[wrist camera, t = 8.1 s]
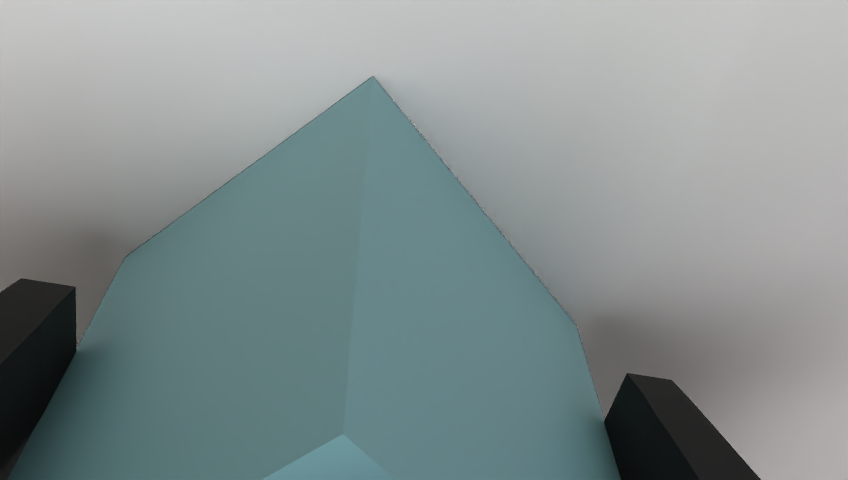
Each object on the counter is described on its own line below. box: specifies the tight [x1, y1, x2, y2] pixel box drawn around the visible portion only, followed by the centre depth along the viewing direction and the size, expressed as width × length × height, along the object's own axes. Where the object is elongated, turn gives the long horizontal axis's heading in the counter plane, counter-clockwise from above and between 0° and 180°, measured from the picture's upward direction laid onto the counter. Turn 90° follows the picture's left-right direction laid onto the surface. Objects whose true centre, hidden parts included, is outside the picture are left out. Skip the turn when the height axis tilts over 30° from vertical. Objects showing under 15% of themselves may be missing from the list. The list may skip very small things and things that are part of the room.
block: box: [7, 77, 621, 480], centre depth 9 cm, size 5×4×6 cm
